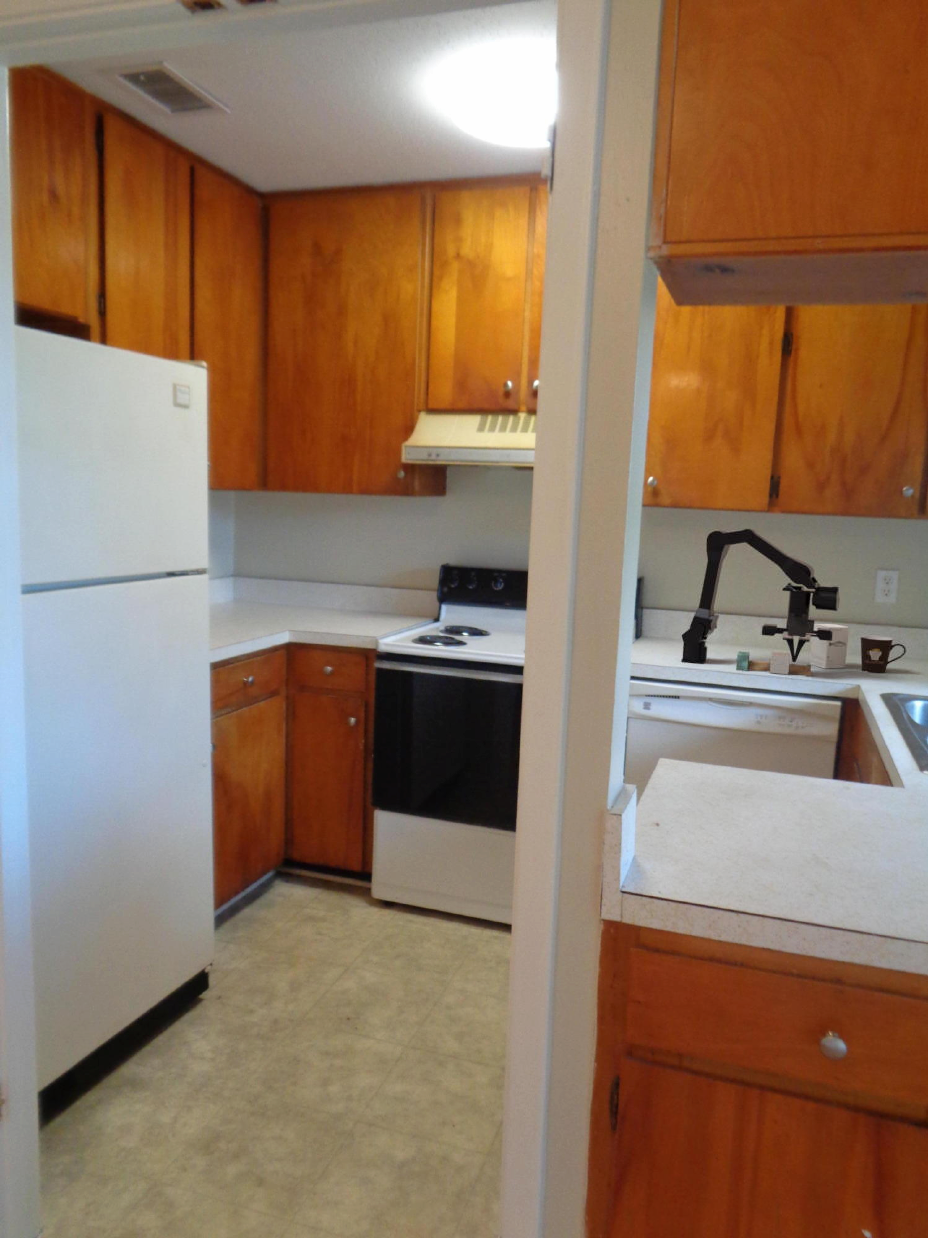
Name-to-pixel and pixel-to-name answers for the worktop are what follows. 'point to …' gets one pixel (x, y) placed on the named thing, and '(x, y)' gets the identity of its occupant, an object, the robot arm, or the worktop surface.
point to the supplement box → (830, 647)
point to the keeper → (779, 663)
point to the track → (767, 665)
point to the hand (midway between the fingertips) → (794, 662)
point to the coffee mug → (877, 653)
